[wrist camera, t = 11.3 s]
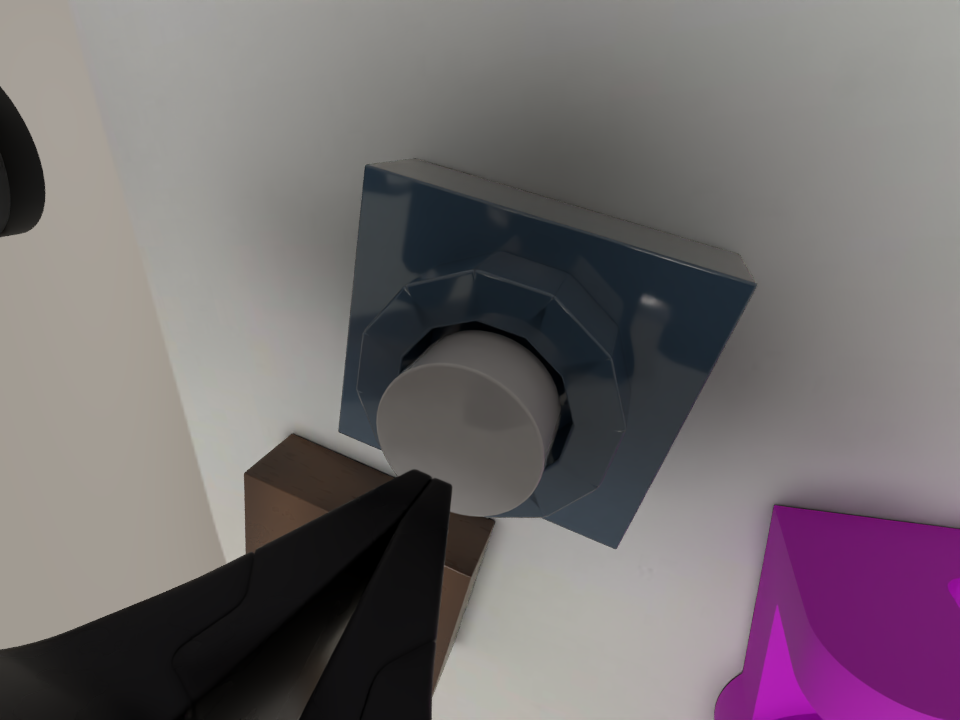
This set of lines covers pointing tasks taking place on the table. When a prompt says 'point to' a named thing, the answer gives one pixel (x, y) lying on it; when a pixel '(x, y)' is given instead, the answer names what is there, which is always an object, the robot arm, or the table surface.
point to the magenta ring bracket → (852, 622)
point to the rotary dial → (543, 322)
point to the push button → (473, 420)
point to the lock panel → (333, 482)
